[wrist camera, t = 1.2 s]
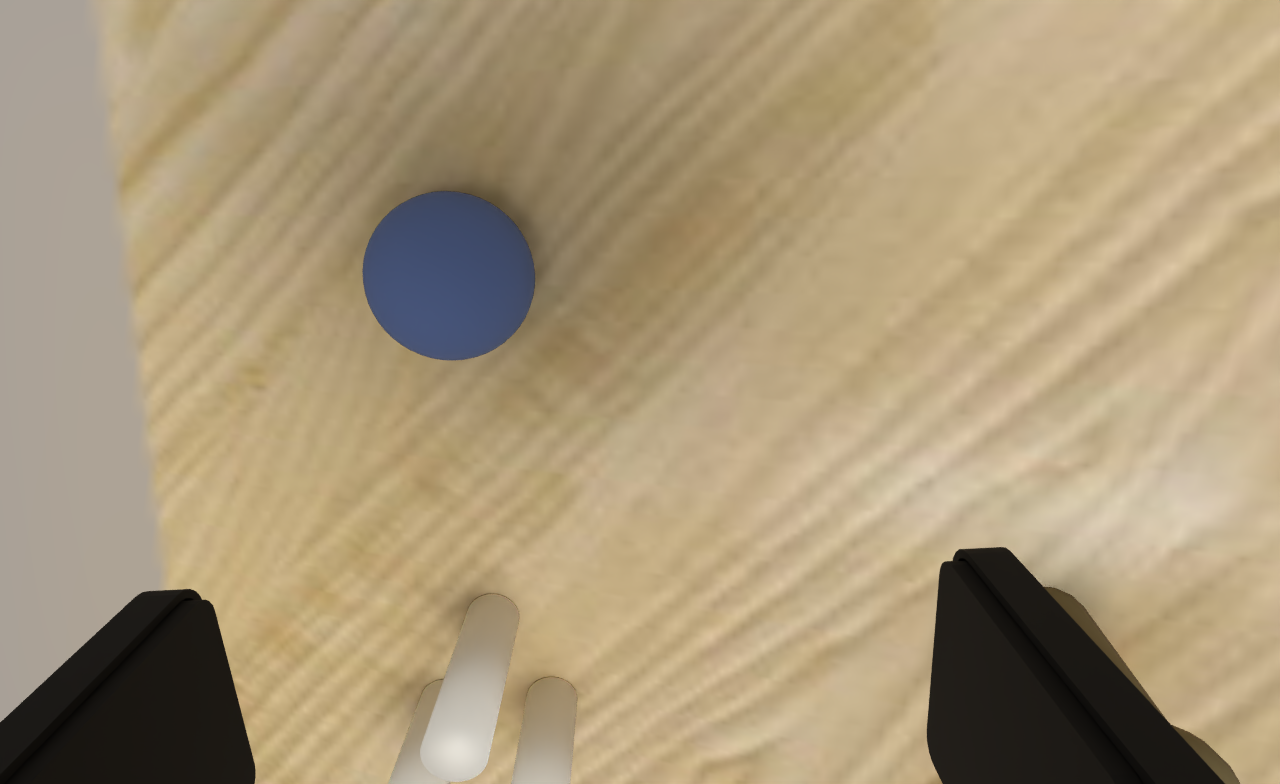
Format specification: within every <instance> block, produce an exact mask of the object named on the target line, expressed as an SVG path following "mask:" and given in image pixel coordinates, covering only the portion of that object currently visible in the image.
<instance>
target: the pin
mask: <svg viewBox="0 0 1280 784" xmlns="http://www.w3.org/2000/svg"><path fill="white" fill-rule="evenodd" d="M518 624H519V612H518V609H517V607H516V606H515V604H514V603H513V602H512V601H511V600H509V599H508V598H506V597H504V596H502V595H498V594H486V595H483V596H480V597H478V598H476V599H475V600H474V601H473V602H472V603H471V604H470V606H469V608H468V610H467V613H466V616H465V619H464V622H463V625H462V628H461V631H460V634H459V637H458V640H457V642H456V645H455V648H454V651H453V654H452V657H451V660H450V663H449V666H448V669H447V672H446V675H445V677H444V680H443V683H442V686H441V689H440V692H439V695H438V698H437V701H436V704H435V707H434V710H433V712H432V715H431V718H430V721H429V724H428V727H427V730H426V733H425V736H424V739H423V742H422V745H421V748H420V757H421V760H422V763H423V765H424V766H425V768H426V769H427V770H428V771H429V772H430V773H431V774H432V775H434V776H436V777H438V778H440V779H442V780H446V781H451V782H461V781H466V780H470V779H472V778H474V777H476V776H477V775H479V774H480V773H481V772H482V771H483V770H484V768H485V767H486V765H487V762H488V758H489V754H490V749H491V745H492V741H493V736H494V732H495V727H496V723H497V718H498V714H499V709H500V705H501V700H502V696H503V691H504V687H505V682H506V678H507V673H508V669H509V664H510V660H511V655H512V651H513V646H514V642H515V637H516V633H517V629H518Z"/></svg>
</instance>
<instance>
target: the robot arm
mask: <svg viewBox="0 0 1280 784" xmlns="http://www.w3.org/2000/svg"><path fill="white" fill-rule="evenodd" d="M927 743H928V748H929V753H930V756H931V760H932V762H933V764H934V767H935V769H936V771H937V773H938V775H939V777H940V779H941V781H942V783H943V784H1225V783H1224V782H1223V781H1222V780H1221V779H1220V777H1219V776H1218V775H1217V774H1216V773H1215V772H1214V771H1213V770H1212V769H1211V768H1210V767H1209V766H1208V764H1207V763H1206V762H1205V761H1204V760H1203V759H1202V758H1201V757H1200V756H1199V755H1198V754H1197V753H1196V751H1195V750H1194V749H1193V748H1192V747H1191V746H1190V745H1189V744H1188V743H1187V742H1186V741H1185V740H1184V738H1183V737H1182V736H1181V735H1180V734H1179V733H1178V732H1177V731H1176V730H1175V729H1174V728H1173V727H1172V725H1171V724H1170V723H1169V722H1168V721H1167V720H1166V719H1165V718H1164V717H1163V716H1162V715H1161V714H1160V713H1159V711H1158V710H1157V709H1156V708H1155V707H1154V706H1153V705H1152V704H1151V703H1150V702H1149V701H1148V700H1147V698H1146V697H1145V696H1144V695H1143V694H1142V693H1141V692H1140V691H1139V690H1138V689H1137V688H1136V687H1135V685H1134V684H1133V683H1132V682H1131V681H1130V680H1129V679H1128V678H1127V677H1126V676H1125V675H1124V674H1123V672H1122V671H1121V670H1120V669H1119V668H1118V667H1117V666H1116V665H1115V664H1114V663H1113V662H1112V661H1111V660H1110V658H1109V657H1108V656H1107V655H1106V654H1105V653H1104V652H1103V651H1102V650H1101V649H1100V648H1099V647H1098V645H1097V644H1096V643H1095V642H1094V641H1093V640H1092V639H1091V638H1090V637H1089V636H1088V635H1087V634H1086V632H1085V631H1084V630H1083V629H1082V628H1081V627H1080V626H1079V625H1078V624H1077V623H1076V622H1075V621H1074V619H1073V618H1072V617H1071V616H1070V615H1069V614H1068V613H1067V612H1066V611H1065V610H1064V609H1063V608H1062V606H1061V605H1060V604H1059V603H1058V602H1057V601H1056V600H1055V599H1054V598H1053V597H1052V596H1051V595H1050V594H1049V592H1048V591H1047V590H1046V589H1045V588H1044V587H1043V586H1042V585H1041V584H1040V583H1039V582H1038V581H1037V579H1036V578H1035V577H1034V576H1033V575H1032V574H1031V573H1030V572H1029V571H1028V570H1027V569H1026V568H1025V566H1024V565H1023V564H1022V563H1021V562H1020V561H1019V560H1018V559H1017V558H1016V557H1015V556H1014V555H1013V553H1012V552H1011V551H1009V550H1008V549H1007V548H1004V547H996V548H976V549H959V550H958V551H957V552H956V553H955V555H954V557H953V561H947V562H944V563H942V565H941V568H940V574H939V586H938V598H937V611H936V623H935V636H934V648H933V660H932V673H931V685H930V698H929V710H928V722H927ZM254 783H255V764H254V760H253V756H252V752H251V748H250V745H249V741H248V737H247V733H246V729H245V725H244V721H243V717H242V714H241V710H240V706H239V702H238V698H237V694H236V690H235V687H234V683H233V679H232V675H231V671H230V667H229V663H228V659H227V656H226V652H225V648H224V644H223V640H222V636H221V632H220V629H219V625H218V621H217V617H216V613H215V610H214V607H213V605H212V604H211V603H210V602H209V601H207V600H202V599H201V597H200V595H199V594H198V593H197V592H196V591H194V590H191V589H183V590H163V591H147V592H142V593H141V594H139V595H138V596H136V597H135V598H134V599H133V600H132V601H131V602H129V603H128V604H127V605H126V606H125V607H124V608H123V609H122V610H121V611H120V612H119V613H118V614H117V615H116V616H114V617H113V618H112V619H111V620H110V621H109V622H108V623H107V624H106V625H105V626H104V627H103V628H102V629H100V630H99V631H98V632H97V633H96V634H95V635H94V636H93V637H92V638H91V639H90V640H89V641H88V642H87V643H85V644H84V645H83V646H82V647H81V648H80V649H79V650H78V651H77V652H76V653H75V654H74V655H72V656H71V658H69V659H68V660H67V661H66V662H65V663H64V664H63V665H62V666H61V667H60V668H58V669H57V670H56V671H55V672H54V673H53V674H52V675H51V676H50V677H49V678H48V679H47V680H46V681H45V682H44V683H42V684H41V685H40V686H39V687H38V688H37V689H36V690H35V691H34V692H33V693H32V694H31V695H29V697H27V698H26V699H25V700H24V701H23V702H22V703H21V704H20V705H19V706H18V707H16V709H14V710H13V711H12V712H11V713H10V714H9V715H8V716H7V717H6V718H5V719H4V720H2V721H1V722H0V784H254Z"/></svg>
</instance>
